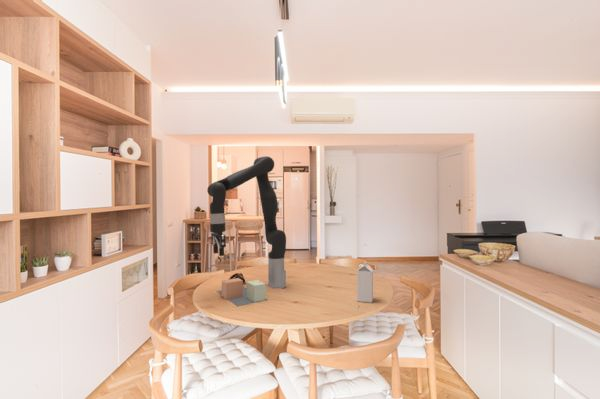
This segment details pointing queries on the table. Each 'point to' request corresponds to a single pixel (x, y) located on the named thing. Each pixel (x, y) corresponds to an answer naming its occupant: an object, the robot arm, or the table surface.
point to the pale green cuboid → (256, 290)
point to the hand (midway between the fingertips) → (218, 254)
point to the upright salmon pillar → (232, 288)
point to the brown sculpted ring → (238, 277)
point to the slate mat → (240, 298)
